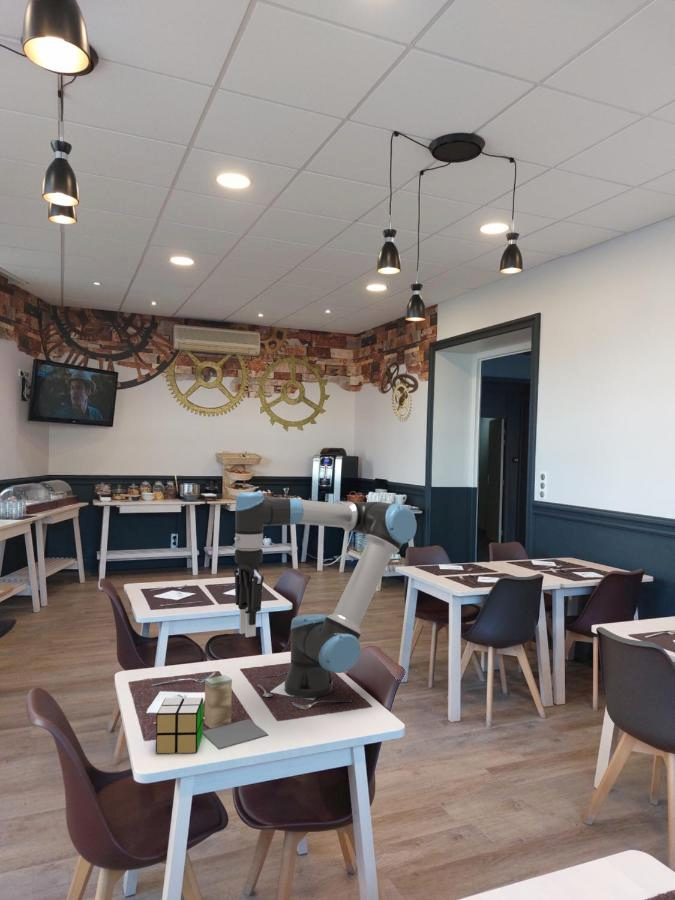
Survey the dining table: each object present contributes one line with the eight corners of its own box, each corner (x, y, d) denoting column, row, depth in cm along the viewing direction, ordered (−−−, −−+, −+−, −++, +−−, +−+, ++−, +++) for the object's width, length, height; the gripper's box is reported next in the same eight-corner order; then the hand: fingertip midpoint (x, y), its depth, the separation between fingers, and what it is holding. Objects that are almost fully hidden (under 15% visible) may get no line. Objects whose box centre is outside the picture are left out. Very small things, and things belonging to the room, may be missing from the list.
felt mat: (249, 720, 168) (249, 719, 168) (268, 735, 159) (268, 734, 159) (201, 732, 160) (201, 731, 160) (218, 749, 151) (218, 748, 151)
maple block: (224, 718, 170) (225, 674, 170) (231, 723, 166) (231, 679, 166) (204, 723, 166) (205, 679, 166) (210, 728, 163) (211, 683, 163)
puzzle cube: (164, 735, 158) (164, 697, 159) (202, 735, 159) (203, 696, 159) (155, 754, 148) (156, 713, 149) (196, 753, 149) (197, 713, 149)
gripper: (223, 545, 171) (222, 629, 170) (250, 553, 157) (248, 644, 157) (247, 543, 175) (246, 625, 175) (275, 551, 162) (273, 639, 162)
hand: (247, 634), depth 166 cm, fingers open, 3 cm apart
